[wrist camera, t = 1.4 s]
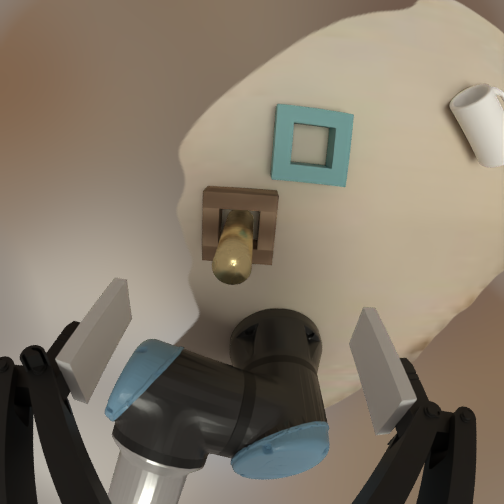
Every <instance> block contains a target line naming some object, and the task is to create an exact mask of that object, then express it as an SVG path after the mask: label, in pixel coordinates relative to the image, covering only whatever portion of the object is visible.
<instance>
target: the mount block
mask: <svg viewBox="0 0 504 504" xmlns="http://www.w3.org/2000/svg"><path fill="white" fill-rule="evenodd" d="M278 199H279V196H278V193H277V191H276V190H263V189H249V188H234V187H217V186H207V188H206V189H205V190H204V191H203V223H202V260H209V261H213V259H214V256H215V253H216V250H217V247H218V244H219V241H220V237H221V223H222V209H234V210H249V211H260V214H259V227H258V239H257V240H255V239H253V248H252V264H264V265H272V258H273V248H274V239H275V229H276V219H277V209H278Z"/></svg>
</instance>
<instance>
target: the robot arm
mask: <svg viewBox="0 0 504 504" xmlns="http://www.w3.org/2000/svg"><path fill="white" fill-rule="evenodd" d="M131 319H132V316H131V309H130V302H129V294H128V285H127V280H126V279H119V278H114V279H113V281H112V282H111V283H110V285H109V286H108V287H107V288H106V290H105V291H104V292H103V293H102V295H101V296H100V297H99V299H98V300H97V301H96V303H95V304H94V305H93V307H92V308H91V309H90V311H89V312H88V314H87V315H86V316H85V317H84V319H83V320H82V321H81V323H80V322H76V321H73V322H72V323H70V324H69V325H67V326H66V327H65V328H64V330H63V331H62V332H61V334H60V335H59V336H58V338H57V340H56V341H55V342H54V343H53V345H52V346H51V348H50V349H49V350H48V352H47V353H46V352H45V350H44V349H43V348H42V347H41V346H38V345H33V346H29V347H26V348H25V349H24V350H23V351H22V353H21V354H20V360H21V362H22V364H23V366H22V365H15V364H14V362H13V360H12V359H11V358H9V357H6V356H5V357H0V504H38V502H37V495H36V486H35V475H34V457H33V414H34V418H35V422H36V426H37V431H38V435H39V439H40V442H41V446H42V449H43V453H44V456H45V459H46V462H47V466H48V468H49V472H50V474H51V477H52V480H53V483H54V485H55V488H56V490H57V493H58V496H59V498H60V501H61V503H62V504H178V501H179V498H180V495H181V492H182V489H183V487H184V483H185V481H186V477H187V475H188V474H189V473H192V472H195V471H198V470H200V469H202V468H203V467H204V465H205V462H206V459H207V456H208V454H209V453H210V454H216V455H220V456H224V457H228V458H232V459H231V465H232V468H233V470H234V472H235V473H237V474H240V475H241V476H243V477H246V478H251V479H277V478H283V477H288V476H292V475H296V474H299V473H302V472H304V471H307V470H309V469H311V468H313V467H314V466H316V465H317V464H319V463H320V462H321V461H322V460H323V459H324V458H325V457H326V455H327V453H328V451H329V436H328V430H329V426H328V423H327V419H326V414H325V409H324V404H323V400H322V395H321V390H320V386H319V381H318V376H317V371H318V367H319V363H320V358H321V354H322V342H321V338H320V334H319V331H318V329H317V327H316V326H315V324H314V323H313V322H312V321H311V320H310V319H309V318H307V317H306V316H304V315H302V314H300V313H298V312H295V311H291V310H286V309H270V310H265V311H261V312H258V313H255V314H253V315H251V316H249V317H247V318H246V319H244V320H243V321H242V322H241V323H240V324H239V325H238V326H237V327H236V328H235V330H234V332H233V334H232V337H231V342H230V358H231V361H232V364H233V366H231V365H228V364H225V363H222V362H219V361H216V360H213V359H210V358H207V357H205V356H202V355H199V354H196V353H194V352H191V351H188V350H186V349H184V347H182V346H180V347H177V346H174V345H171V344H168V343H165V342H162V341H159V340H156V339H149V340H146V341H144V342H143V343H141V344H140V345H139V346H138V347H137V349H136V350H135V351H134V353H133V354H132V356H131V357H130V359H129V361H128V362H127V364H126V366H125V367H124V369H123V371H122V373H121V375H120V377H119V378H118V380H117V382H116V384H115V386H114V388H113V391H112V393H111V395H110V397H109V400H108V404H107V407H106V409H105V415H106V416H107V417H108V418H109V419H110V420H111V421H115V425H114V429H113V432H112V437H113V439H114V441H115V442H116V444H117V446H118V447H119V449H120V453H119V457H118V460H117V463H116V467H115V471H114V474H113V478H112V481H111V485H110V489H109V493H108V495H107V493H106V491H105V489H104V488H103V486H102V483H101V481H100V480H99V477H98V475H97V473H96V471H95V469H94V466H93V464H92V462H91V460H90V458H89V455H88V453H87V451H86V448H85V446H84V443H83V441H82V438H81V435H80V432H79V430H78V427H77V425H76V421H75V418H74V416H73V413H72V409H71V406H70V404H69V400H68V399H67V397H68V395H69V393H70V392H71V394H72V396H73V398H74V399H75V400H78V401H81V402H84V403H86V404H88V402H89V400H90V398H91V396H92V394H93V392H94V389H95V388H96V386H97V384H98V381H99V379H100V378H101V375H102V373H103V371H104V370H105V368H106V366H107V364H108V362H109V360H110V358H111V356H112V354H113V352H114V351H115V349H116V347H117V345H118V343H119V341H120V339H121V338H122V336H123V334H124V332H125V330H126V329H127V327H128V325H129V323H130V321H131ZM349 345H350V348H351V351H352V354H353V357H354V361H355V364H356V367H357V371H358V374H359V377H360V381H361V384H362V387H363V390H364V394H365V398H366V401H367V405H368V409H369V412H370V416H371V419H372V423H373V427H374V431H375V435H381V434H389V433H390V432H391V431H392V430H393V429H394V428H395V427H396V431H397V434H396V435H395V436H394V437H393V438H392V439H391V440H390V442H389V443H388V445H389V447H388V449H387V450H386V452H385V454H384V455H383V457H382V459H381V461H380V462H379V464H378V465H377V467H376V468H375V470H374V472H373V473H372V475H371V476H370V478H369V480H368V481H367V483H366V484H365V485H364V487H363V488H362V490H361V491H360V493H359V494H358V495H357V497H356V498H355V500H354V501H353V502H352V504H404V503H405V501H406V499H407V498H408V496H409V494H410V492H411V490H412V488H413V486H414V484H415V482H416V480H417V478H418V476H419V474H420V471H421V469H422V467H423V465H424V463H425V465H424V470H423V476H422V481H421V486H420V490H419V495H418V499H417V503H416V504H473V495H474V486H475V472H476V417H475V414H474V413H473V411H472V410H471V409H470V408H467V407H459V408H458V409H457V410H456V411H455V412H454V413H452V412H445V411H441V409H440V407H439V406H438V405H437V404H436V403H434V402H431V401H429V400H428V397H427V395H426V393H425V391H424V388H423V386H422V384H421V382H420V380H419V377H418V375H417V374H416V371H415V369H414V367H413V365H412V364H411V363H410V362H409V360H408V359H407V358H399V356H398V354H397V352H396V350H395V347H394V345H393V343H392V341H391V339H390V337H389V335H388V333H387V331H386V329H385V327H384V324H383V322H382V320H381V318H380V316H379V314H378V312H377V310H376V308H369V307H363V309H362V312H361V315H360V317H359V320H358V323H357V325H356V328H355V330H354V333H353V335H352V338H351V340H350V343H349Z"/></svg>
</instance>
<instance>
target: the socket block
mask: <svg viewBox="0 0 504 504" xmlns="http://www.w3.org/2000/svg"><path fill="white" fill-rule="evenodd" d="M353 118H354V115H353V114H348V113H342V112H336V111H330V110H324V109H317V108H310V107H302V106H294V105H284V104H277V106H276V114H275V126H274V139H273V151H272V163H271V178H272V179H274V180H285V181H296V182H306V183H315V184H324V185H332V186H340V187H346V180H347V172H348V164H349V156H350V147H351V138H352V128H353ZM294 123H296V124H304V125H312V126H319V127H326V128H329V137H328V147H327V156H326V165H319V164H310V163H301V162H291V152H292V141H293V129H294Z"/></svg>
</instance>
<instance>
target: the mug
mask: <svg viewBox="0 0 504 504" xmlns="http://www.w3.org/2000/svg"><path fill="white" fill-rule="evenodd" d="M496 95H499V96H500V97H501V98H502V100H503V101H504V92H503V91H502V90H500V89H499V88H497V87H491V86H490V85H488V84H478V85H474V86H471V87H469V88H467V89H465V90H463V91H461V92H460V93H459V94H457V95H456V96H455V97H454V98H453V99H452V100H451V102H450V105H449V107H450V109H451V111H452V112H453V114H454V116H455V118H456V119H457V121H458V123H459V125H460V126H461V128H462V130H463V132H464V134H465V136H466V138H467V139H468V141H469V143H470V145H471V147H472V149H473V151H474V153H475V156H476V158H477V160H478V162H479V163H480V164H481V165H482V166H485V167H490V168H491V167H499V166H502V165H504V110H503V108H502V106H501V104H500V102H499V100H498V98H497V96H496Z"/></svg>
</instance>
